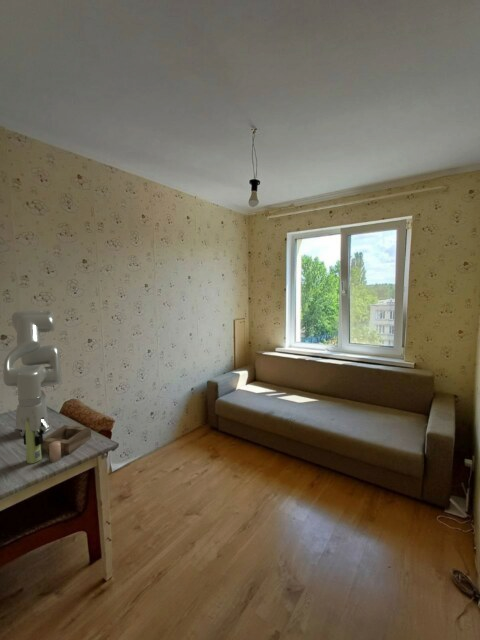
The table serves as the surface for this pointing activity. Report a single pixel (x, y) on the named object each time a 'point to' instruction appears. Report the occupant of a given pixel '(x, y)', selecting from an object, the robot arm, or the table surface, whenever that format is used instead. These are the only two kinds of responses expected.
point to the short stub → (55, 451)
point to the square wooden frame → (72, 432)
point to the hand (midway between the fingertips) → (33, 443)
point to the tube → (32, 446)
